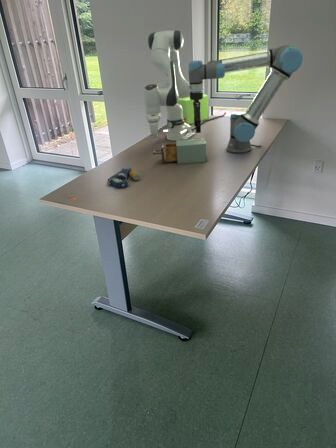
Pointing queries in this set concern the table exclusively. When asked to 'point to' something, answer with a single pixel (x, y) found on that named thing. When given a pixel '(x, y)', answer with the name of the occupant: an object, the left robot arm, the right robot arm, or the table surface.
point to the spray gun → (123, 177)
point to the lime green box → (189, 109)
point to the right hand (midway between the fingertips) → (197, 129)
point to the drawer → (168, 152)
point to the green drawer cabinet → (191, 151)
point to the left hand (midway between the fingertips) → (156, 138)
